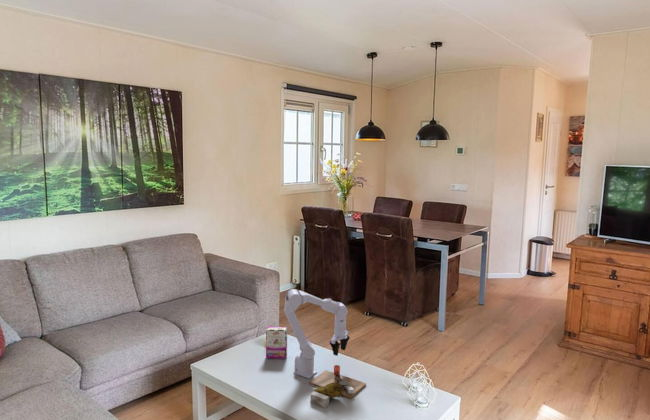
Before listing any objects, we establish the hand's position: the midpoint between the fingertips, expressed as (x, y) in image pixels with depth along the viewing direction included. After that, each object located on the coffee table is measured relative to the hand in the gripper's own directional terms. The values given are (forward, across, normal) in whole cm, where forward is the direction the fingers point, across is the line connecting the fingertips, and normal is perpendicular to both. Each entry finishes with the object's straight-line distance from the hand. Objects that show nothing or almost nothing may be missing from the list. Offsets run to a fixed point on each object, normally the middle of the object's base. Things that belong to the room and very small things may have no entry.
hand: (339, 352), depth 236 cm
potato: (+10, -26, -10) cm, 30 cm away
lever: (+8, -13, -10) cm, 19 cm away
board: (+10, -20, -7) cm, 23 cm away
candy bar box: (+10, -6, +36) cm, 38 cm away
